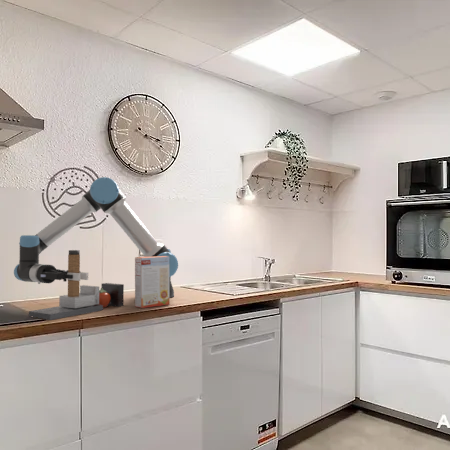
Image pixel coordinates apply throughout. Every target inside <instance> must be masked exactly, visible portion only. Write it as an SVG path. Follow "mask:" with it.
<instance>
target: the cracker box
mask: <svg viewBox="0 0 450 450" xmlns="http://www.w3.org/2000/svg"><path fill="white" fill-rule="evenodd" d="M168 305H170V298H169V257H168V256H153V257H144V256H136V257H134V306H135V307H136V308H141V309H145V308H146V309H147V308H152V307H162V306H168Z"/></svg>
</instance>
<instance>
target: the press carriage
mask: <svg viewBox="0 0 450 450" xmlns="http://www.w3.org/2000/svg"><path fill="white" fill-rule="evenodd" d="M80 256H81V253H80V250H79V249H75V250H74V249H72V250H68V257H67V258H68V259H67V270H68V273H80V272H81V270H80V268H81V265H80V264H81V263H80V261H81V257H80ZM99 290H100V286H95V285H88V284H87V285H86V284H83V285H80V281H75V280H67V294H63V295H59V296H58V297H59V306H61V307H68V308H80V307H86V306H91V305H97V304H99Z"/></svg>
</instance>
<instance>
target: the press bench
mask: <svg viewBox="0 0 450 450" xmlns="http://www.w3.org/2000/svg"><path fill="white" fill-rule="evenodd" d="M124 286H125V285H124V284H123V283H112V282H104V283H101V288H103V290H105V291H106V292H107V293H109V294H110V296H111V300H110V303H109V304H108V306H111V307H118V308H119V307H124V301H125V300H124V295H125V294H124V290H125V289H124V288H125V287H124ZM101 288H100V289H101ZM103 310H104V308H103V305H98V304H97V305H91V306H86V307H80V308H68V307H61V306H53V307H47V308H40V309H34V310H28V317H29V316H33V317H38V318H37V319H40V318H43V319H42V320H47V321H52V320H57V319H63V318H69V317H74V316H80V315H85V314H91V313H95V312H101V311H103ZM33 317H32V318H33Z"/></svg>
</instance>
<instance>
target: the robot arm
mask: <svg viewBox="0 0 450 450" xmlns="http://www.w3.org/2000/svg"><path fill="white" fill-rule="evenodd" d="M99 210H102V212H103V213H104V214H110V216H111V217H112V218H113V220H114V221H115V222H116V223H117V224H118V225H119V227H120V229H122V230H123V232H124V233H125V234H126V236H127V237H128V238H129V239H130V240H131V242H132V243H133V244H134V245H135V247H136V248H137V249H138V250H139V252H141V254H142V255H143V257H153V256H168V257H169V299H170V298H173V297H174V296H175V291H174V287H173V284H172V281H171V279H172V278H171V277H173V276H174V275H175V274H176V273H177V271H178V268H179V260H178V259H177V256H175V255H174V253H172V251H171V249H168V247H167V246H166V245H165V243H159V242H158V240H156V238H155V237H154V236H153V235H152V233H151V232H150V231H149V230H148V228H147V227H146V226H145V224H144V223H143V222H142V221H141V220H140V218H139V217H138V216H137V214H136V213H135V212H134V211H133V209H131V207H130V206H129V205H128V203H127V202H126V196H125V194H124V193H123V192H122V191H121V189H120V188H119V185H118V183H117V182H116V181H115V180H114V179H113V178H110V177H108V176H107V177H106V176H104V177H99V178H97V179H95V180H94V181H93V182H92V183H91V184H90V187H89V190H88V191H87V192H86V193H84V194H83V195H82V196H81V199H80V200H79V201H78V202H77V203H75V204H74V205H72V206H71V207H70V208H68V210H66V211H65V212H64V213H62V214H61V215H59V216H58V217H57V218H56V219H55V220H53V221H52V222H51V223H49V224H48V225H47V226H45V227H44V228H43V229H41V230H40V231H39V232H38V233H36V234H34V235H30V234H27V235H24V234H23V235H20V237H19V243H18V244H19V262H18V264H16V266H15V267H14V269H13V275H14V277H15V279H16V280H17V281H22V282H27V283H29V282H30V283H37V284H38V285H41V284H52V283H54V282H55V280H57V281H58V280H59V281H61V280H63V281H62V282H68V280H75V281H79V282H81V280H82V281H83V280H84V281H88V280H89V272H83V271H80V273H68V269H67V270H65V269H57V268H56V267H55V266H54V265H53V264H45V263H40V260H39V258H40V254H42V252H43V251H44V250H46V249H48V247H50V245H52V244H53V243H56V241H58V240H59V239H60V238H61V237H62V236H64V235H65V234H66V233H68V232H69V231H70V230H72V229H73V228H74V227H75V226H77V225H78V224H79V223H80V222H82V221H83V220H84V219H86V218H87V217H88V216H90V215H91V214H92V213H97V212H98V211H99Z"/></svg>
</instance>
